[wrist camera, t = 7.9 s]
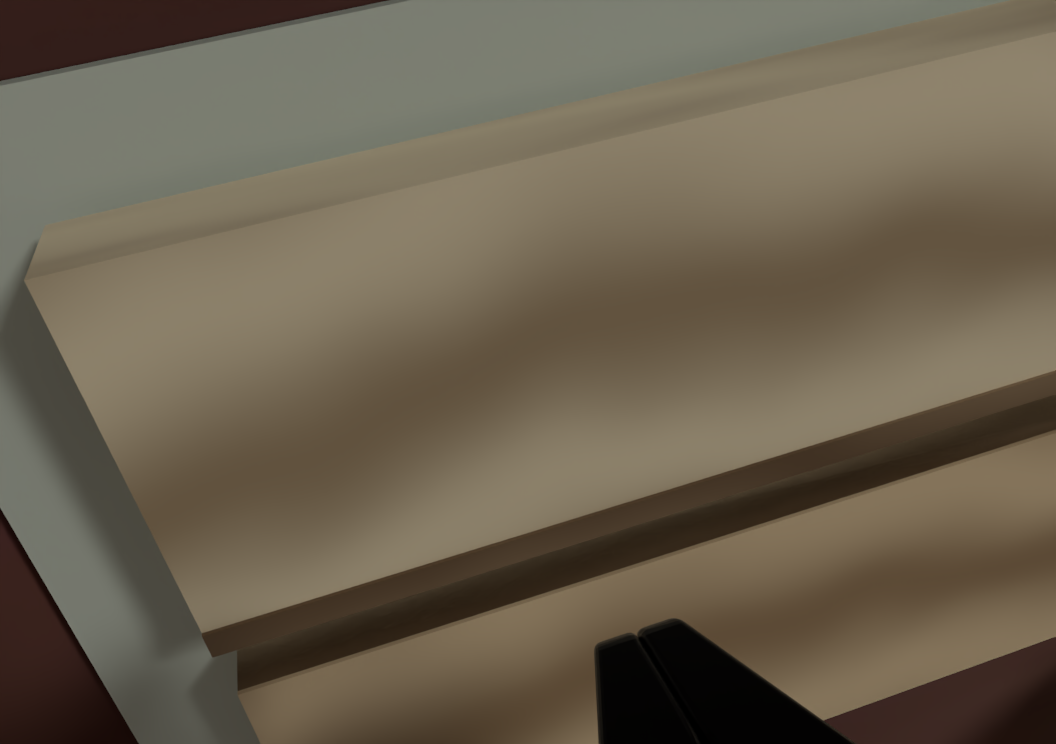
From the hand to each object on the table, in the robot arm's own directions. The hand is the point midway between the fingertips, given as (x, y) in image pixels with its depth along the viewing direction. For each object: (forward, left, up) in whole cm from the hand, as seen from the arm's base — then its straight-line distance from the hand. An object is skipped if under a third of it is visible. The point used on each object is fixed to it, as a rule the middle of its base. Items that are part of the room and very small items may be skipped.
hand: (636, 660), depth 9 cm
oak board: (-11, -6, -11) cm, 16 cm away
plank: (-2, -6, -10) cm, 12 cm away
